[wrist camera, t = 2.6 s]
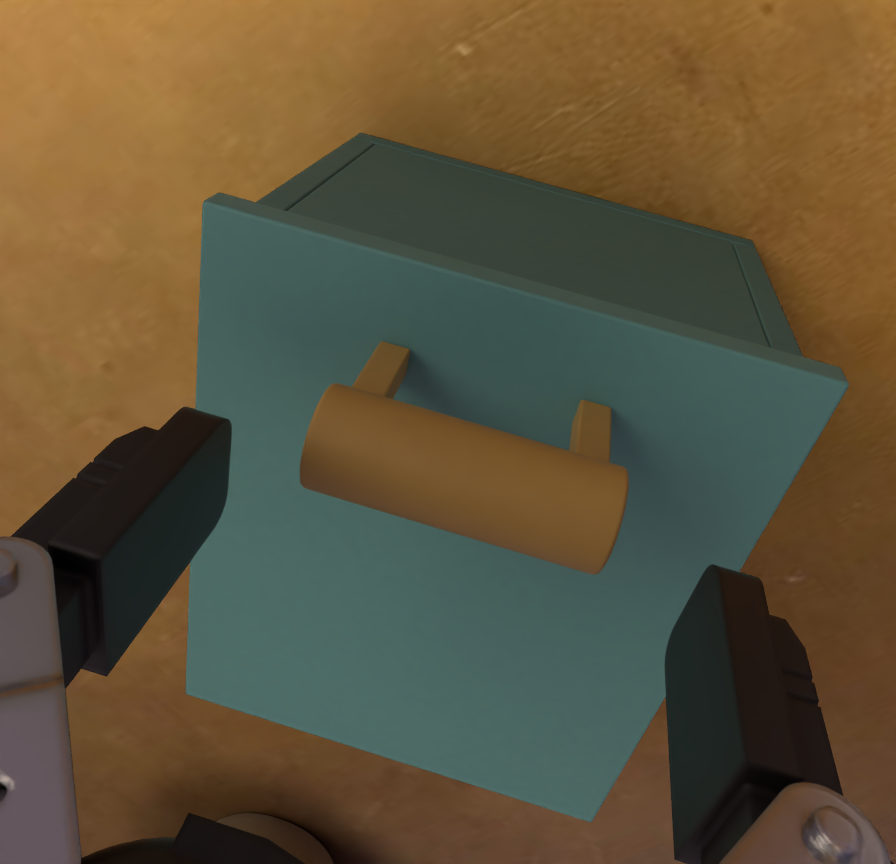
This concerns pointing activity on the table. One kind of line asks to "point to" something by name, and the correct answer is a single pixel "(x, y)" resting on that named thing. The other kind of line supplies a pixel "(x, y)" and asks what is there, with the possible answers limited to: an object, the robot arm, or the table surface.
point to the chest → (543, 236)
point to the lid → (467, 500)
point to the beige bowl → (281, 836)
